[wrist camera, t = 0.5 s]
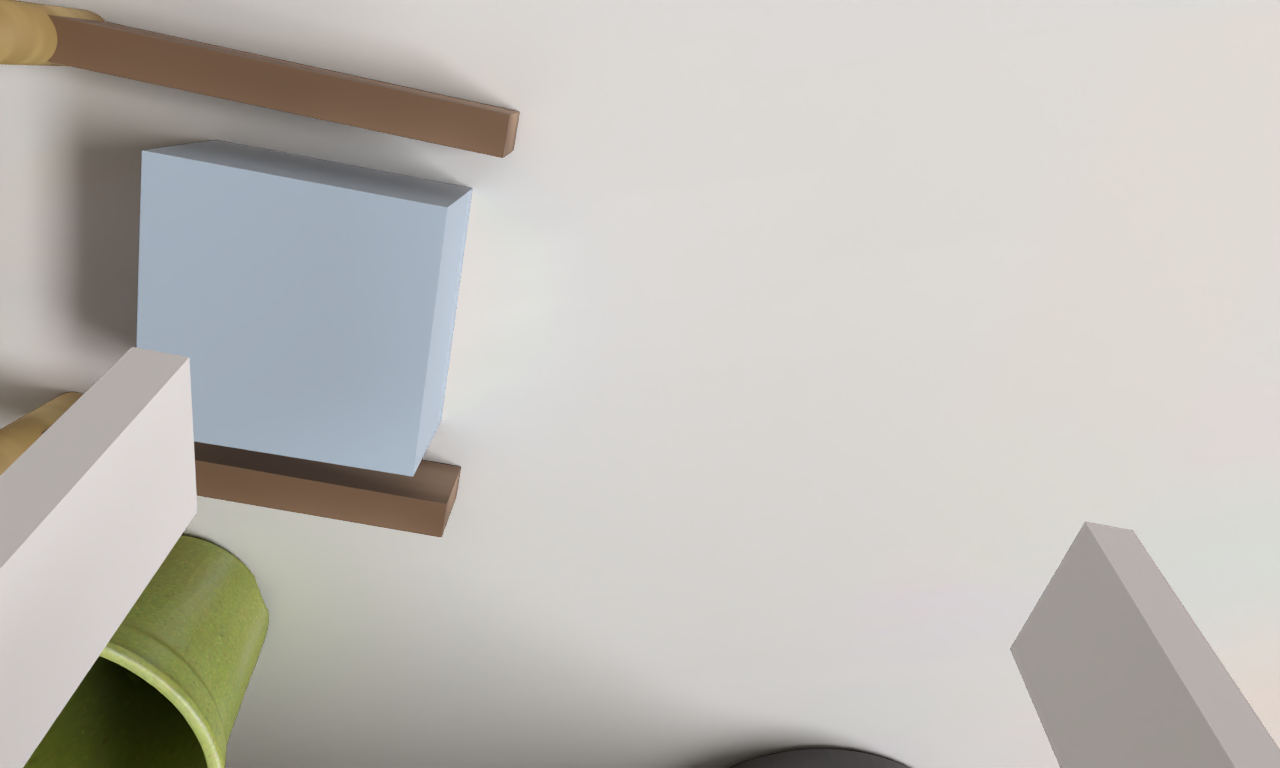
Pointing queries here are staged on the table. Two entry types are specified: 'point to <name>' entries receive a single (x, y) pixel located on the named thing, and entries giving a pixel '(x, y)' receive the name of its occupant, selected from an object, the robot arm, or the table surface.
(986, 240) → the table surface
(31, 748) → the robot arm
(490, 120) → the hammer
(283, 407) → the block
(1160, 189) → the table surface
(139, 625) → the plant pot
